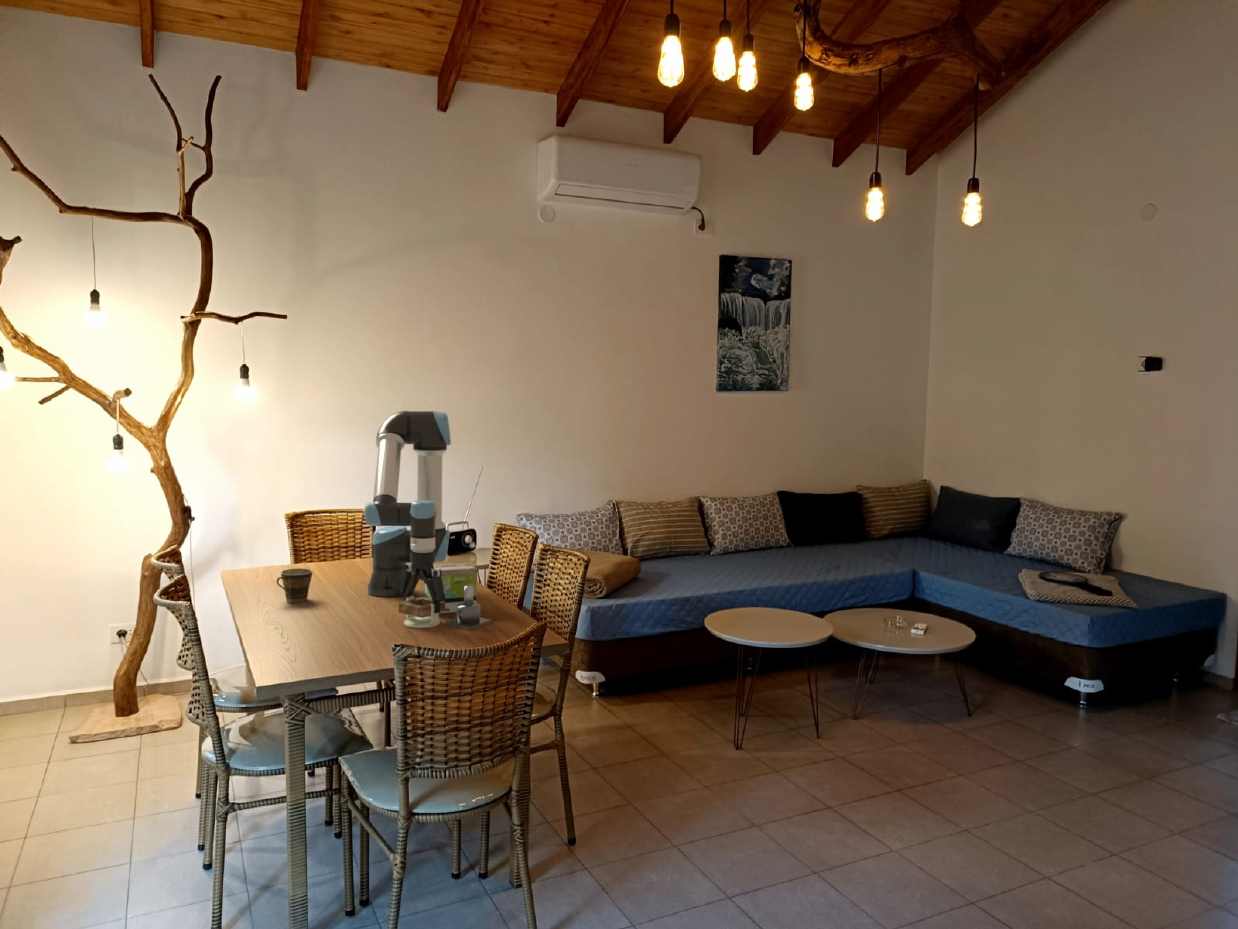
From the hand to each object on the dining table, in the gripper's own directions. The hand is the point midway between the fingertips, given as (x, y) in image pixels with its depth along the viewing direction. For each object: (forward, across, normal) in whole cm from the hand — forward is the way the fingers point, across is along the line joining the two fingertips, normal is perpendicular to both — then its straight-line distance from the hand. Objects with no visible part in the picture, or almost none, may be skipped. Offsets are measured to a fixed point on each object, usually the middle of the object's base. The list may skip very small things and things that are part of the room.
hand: (422, 620), depth 271 cm
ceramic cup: (+1, -52, -8) cm, 53 cm away
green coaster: (+1, 0, 0) cm, 1 cm away
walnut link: (-3, 0, 0) cm, 3 cm away
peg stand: (+1, +12, +8) cm, 14 cm away
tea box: (+1, -4, +17) cm, 18 cm away
